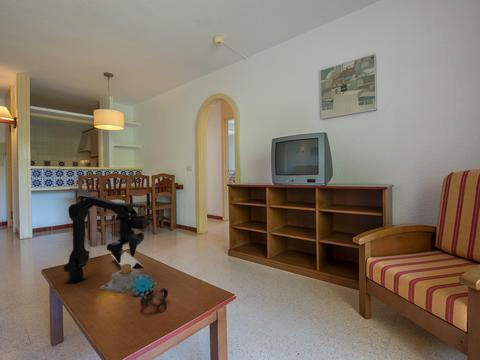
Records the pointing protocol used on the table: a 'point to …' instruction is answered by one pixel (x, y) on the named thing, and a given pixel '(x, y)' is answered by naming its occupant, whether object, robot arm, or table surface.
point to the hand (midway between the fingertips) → (126, 259)
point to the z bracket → (127, 260)
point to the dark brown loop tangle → (158, 296)
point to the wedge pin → (125, 268)
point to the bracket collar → (122, 281)
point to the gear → (143, 285)
